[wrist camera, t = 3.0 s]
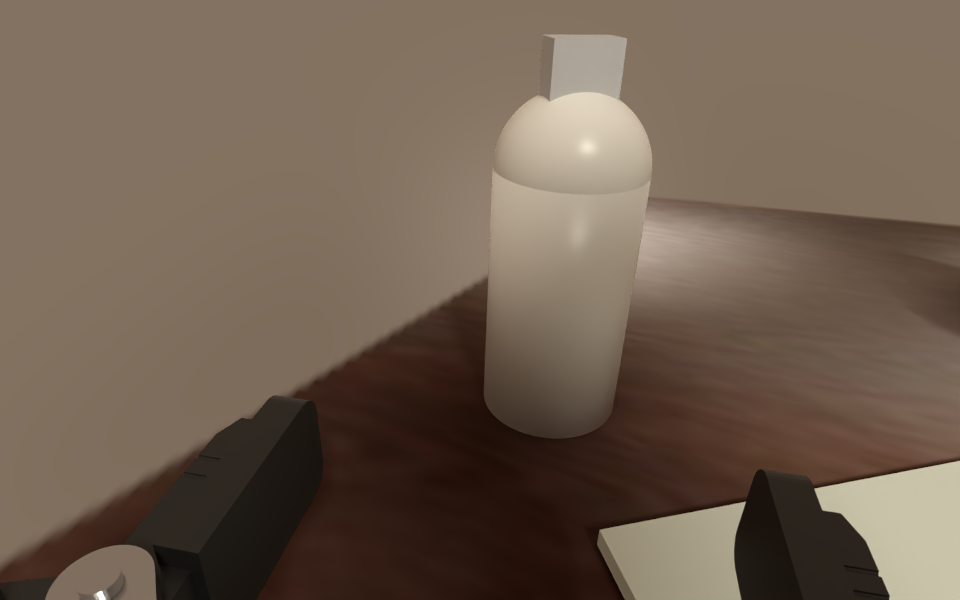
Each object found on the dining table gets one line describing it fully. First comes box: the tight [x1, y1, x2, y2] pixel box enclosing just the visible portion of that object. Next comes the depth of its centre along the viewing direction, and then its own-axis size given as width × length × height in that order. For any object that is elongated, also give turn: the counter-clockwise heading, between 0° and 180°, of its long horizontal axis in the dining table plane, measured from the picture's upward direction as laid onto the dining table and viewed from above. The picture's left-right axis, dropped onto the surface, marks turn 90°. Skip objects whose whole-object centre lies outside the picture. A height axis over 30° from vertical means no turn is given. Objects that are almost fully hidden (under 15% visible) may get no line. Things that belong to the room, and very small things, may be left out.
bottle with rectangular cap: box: [484, 35, 652, 439], centre depth 21 cm, size 5×5×13 cm
